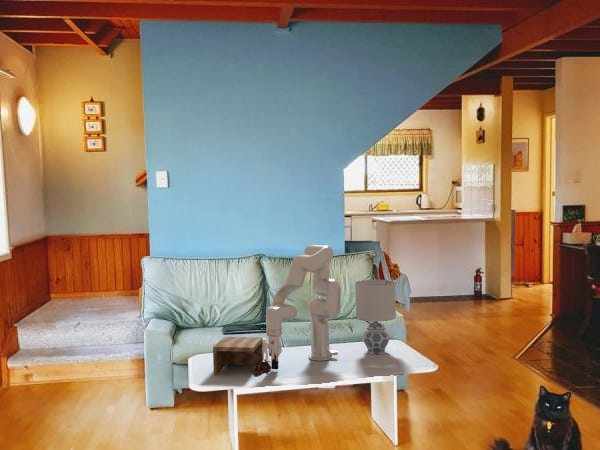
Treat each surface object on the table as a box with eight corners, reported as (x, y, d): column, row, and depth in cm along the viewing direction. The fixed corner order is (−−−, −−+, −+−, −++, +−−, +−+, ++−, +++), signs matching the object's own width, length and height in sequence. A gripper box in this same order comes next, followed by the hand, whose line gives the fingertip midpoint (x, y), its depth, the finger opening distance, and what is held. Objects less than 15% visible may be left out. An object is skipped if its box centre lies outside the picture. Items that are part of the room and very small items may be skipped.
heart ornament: (265, 372, 293) (277, 364, 287) (250, 383, 284) (262, 375, 277) (258, 361, 294) (270, 353, 288) (242, 371, 285) (254, 363, 278)
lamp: (394, 358, 303) (393, 286, 301) (353, 356, 308) (352, 285, 306) (398, 347, 324) (397, 280, 322) (359, 346, 329) (358, 279, 327)
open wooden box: (263, 364, 298) (262, 337, 297) (254, 376, 278) (253, 347, 278) (225, 363, 301) (224, 336, 300) (213, 375, 281) (212, 346, 281)
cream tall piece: (273, 357, 310) (272, 335, 309) (273, 359, 306) (273, 337, 305) (256, 358, 308) (255, 336, 308) (256, 360, 305) (256, 338, 304)
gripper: (279, 335, 277) (279, 373, 278) (284, 328, 292) (285, 364, 293) (263, 335, 278) (264, 373, 279) (269, 328, 293) (270, 364, 294)
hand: (275, 368), depth 286 cm, fingers closed
